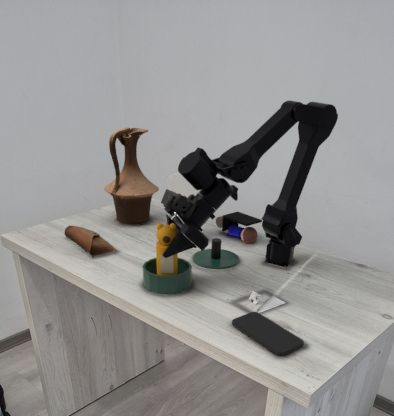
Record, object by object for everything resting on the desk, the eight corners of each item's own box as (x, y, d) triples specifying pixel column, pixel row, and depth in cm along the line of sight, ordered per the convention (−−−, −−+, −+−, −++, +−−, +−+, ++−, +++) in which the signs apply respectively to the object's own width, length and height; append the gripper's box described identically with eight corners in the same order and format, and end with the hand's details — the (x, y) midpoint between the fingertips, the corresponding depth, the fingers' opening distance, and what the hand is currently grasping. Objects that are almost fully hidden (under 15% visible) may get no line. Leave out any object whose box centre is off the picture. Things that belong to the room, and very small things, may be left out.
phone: (280, 354, 88) (229, 320, 97) (279, 357, 88) (229, 323, 98) (306, 342, 91) (255, 310, 101) (305, 345, 92) (254, 313, 101)
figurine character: (214, 237, 144) (245, 247, 133) (213, 213, 140) (246, 221, 129) (230, 233, 147) (262, 242, 136) (230, 209, 143) (263, 217, 133)
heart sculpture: (212, 241, 137) (215, 179, 127) (201, 245, 134) (202, 182, 124) (177, 227, 146) (177, 168, 136) (165, 231, 143) (164, 171, 133)
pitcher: (135, 233, 142) (130, 134, 126) (95, 222, 149) (85, 127, 133) (169, 218, 154) (168, 126, 138) (130, 208, 161) (124, 120, 145)
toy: (157, 273, 114) (155, 219, 106) (177, 272, 114) (177, 219, 106) (156, 282, 109) (154, 227, 102) (177, 282, 110) (177, 227, 102)
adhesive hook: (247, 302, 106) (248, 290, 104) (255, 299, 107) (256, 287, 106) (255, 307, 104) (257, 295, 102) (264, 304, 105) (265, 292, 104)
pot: (199, 281, 115) (200, 263, 112) (174, 300, 106) (174, 280, 104) (161, 270, 119) (161, 253, 117) (134, 287, 111) (133, 268, 108)
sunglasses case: (118, 249, 129) (105, 232, 124) (100, 266, 128) (86, 249, 123) (90, 231, 141) (77, 214, 136) (73, 246, 140) (60, 230, 135)
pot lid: (246, 258, 127) (248, 237, 124) (225, 275, 118) (226, 252, 115) (207, 249, 132) (207, 228, 129) (183, 263, 123) (183, 242, 120)
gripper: (172, 167, 107) (128, 217, 110) (195, 188, 92) (144, 246, 96) (203, 198, 113) (161, 245, 117) (229, 223, 99) (180, 276, 102)
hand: (161, 252), depth 108 cm, fingers closed on toy, 5 cm apart
